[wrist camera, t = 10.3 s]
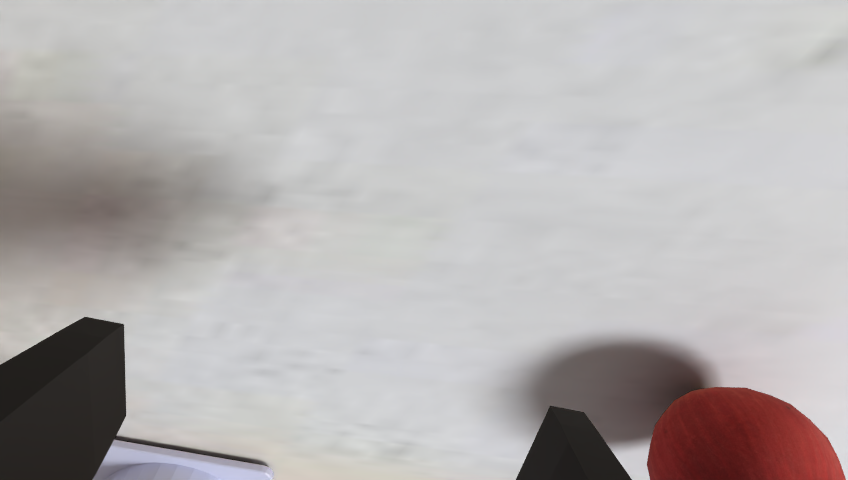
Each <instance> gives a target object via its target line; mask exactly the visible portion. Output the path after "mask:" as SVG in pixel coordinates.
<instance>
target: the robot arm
mask: <svg viewBox="0 0 848 480" xmlns="http://www.w3.org/2000/svg"><path fill="white" fill-rule="evenodd" d="M125 417H126V391H125V351H124V324H120V323H114V322H109V321H104V320H99V319H93V318H88V317H84V318H82V319H80V320H78V321H77V322H75V323H73V324H71V325H69V326H67V327H66V328H64V329H62V330H60V331H59V332H57V333H55V334H53V335H52V336H50V337H48V338H46V339H45V340H43V341H41V342H39V343H38V344H36V345H34V346H33V347H31V348H29V349H27V350H26V351H24V352H22V353H20V354H19V355H17V356H15V357H13V358H12V359H10V360H8V361H6V362H5V363H3V364H1V365H0V480H273V476H274V474H273V471H272V470H271V469H270V468H269V467H267V466H264V465H259V464H253V463H247V462H241V461H236V460H230V459H224V458H218V457H212V456H206V455H201V454H195V453H189V452H183V451H177V450H172V449H166V448H160V447H154V446H148V445H143V444H137V443H131V442H125V441H119V440H114V439H115V437H116V435H117V433H118V431H119V429H120V427H121V425H122V423H123V421H124V419H125ZM516 480H632V479H631V478H630V476H629V475H628V474H627V472H626V471H625V469H624V468H623V467H622V465H621V464H620V462H619V461H618V459H617V458H616V457H615V455H614V454H613V452H612V451H611V450H610V448H609V447H608V445H607V444H606V442H605V441H604V440H603V438H602V437H601V435H600V434H599V432H598V431H597V430H596V428H595V427H594V426H593V424H592V423H591V421H590V420H589V419H588V417H587V416H586V415H585V413H584V412H580V411H574V410H569V409H564V408H559V407H554V406H550V407H549V410H548V412H547V414H546V416H545V418H544V420H543V423H542V425H541V427H540V429H539V431H538V433H537V435H536V438H535V440H534V442H533V444H532V446H531V448H530V450H529V453H528V455H527V457H526V459H525V461H524V463H523V466H522V468H521V470H520V472H519V474H518V476H517V478H516Z"/></svg>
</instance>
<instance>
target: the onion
mask: <svg viewBox="0 0 848 480" xmlns="http://www.w3.org/2000/svg"><path fill="white" fill-rule="evenodd" d="M647 467H648V471H649V476H650V480H846V479H845V476H844V473H843V470H842V467H841V464H840V461H839V459H838V457H837V455H836V453H835V451H834V449H833V447H832V445H831V443H830V442H829V440H828V438H827V437H826V436H825V435H824V434H823V433H822V432H821V431H820V430H819V429H818V428H817V427H816V426H815V425H814V424H813V422H812V421H811V420H810V419H808V418H807V417H806V416H805V415H803V414H802V413H801V412H800V411H798V410H797V409H796V408H795V407H793V406H792V405H791V404H789V403H787V402H784V401H782V400H780V399H778V398H775V397H773V396H771V395H768V394H764V393H761V392H758V391H754V390H751V389H748V388H730V387H713V388H702V389H698V390H693V391H690V392H689V393H687V394H685V395H683V396H681V397H679V398H678V399H676V400H674V401H673V402H672V404H671V405H670V406H669V407H668V408H667V410H666V411H665V412H664V413H663V414H662V416H661V417H660V419H659V420H658V422H657V423H656V425H655V427H654V431H653V435H652V439H651V443H650V449H649V455H648V461H647Z"/></svg>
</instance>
